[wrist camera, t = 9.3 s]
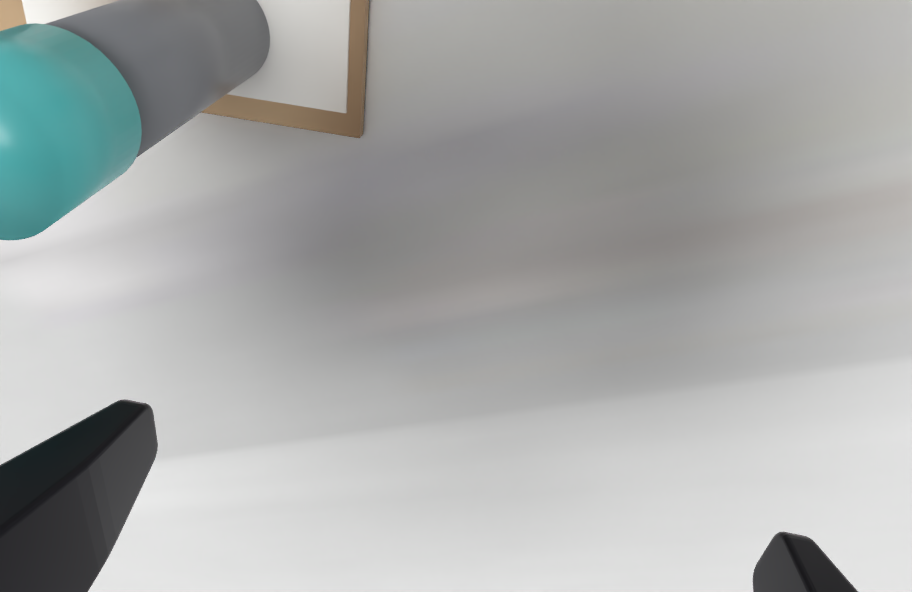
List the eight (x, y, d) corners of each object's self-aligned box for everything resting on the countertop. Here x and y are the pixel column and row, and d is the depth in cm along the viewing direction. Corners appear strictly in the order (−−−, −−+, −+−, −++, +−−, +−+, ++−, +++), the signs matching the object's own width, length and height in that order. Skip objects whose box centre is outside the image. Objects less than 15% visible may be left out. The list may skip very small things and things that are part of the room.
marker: (272, -22, 18) (42, 73, 10) (274, 93, 19) (79, 253, 11) (160, -39, 18) (-157, 42, 10) (172, 76, 19) (-90, 224, 12)
